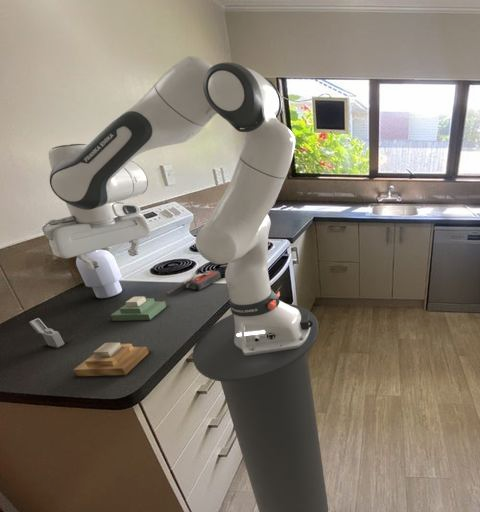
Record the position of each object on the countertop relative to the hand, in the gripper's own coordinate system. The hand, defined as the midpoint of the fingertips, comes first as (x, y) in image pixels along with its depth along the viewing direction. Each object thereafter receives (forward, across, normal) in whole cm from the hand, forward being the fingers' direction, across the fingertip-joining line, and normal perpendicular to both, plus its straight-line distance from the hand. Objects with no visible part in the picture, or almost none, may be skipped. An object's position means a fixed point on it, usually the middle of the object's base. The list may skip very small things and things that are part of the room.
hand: (115, 261), depth 79 cm
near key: (+20, -11, -7) cm, 24 cm away
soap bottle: (+24, +11, +38) cm, 46 cm away
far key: (+20, +6, +12) cm, 25 cm away
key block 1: (+24, +6, +12) cm, 28 cm away
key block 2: (+24, -11, -7) cm, 28 cm away
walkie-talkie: (+24, +27, +12) cm, 38 cm away
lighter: (+24, -13, +19) cm, 33 cm away
